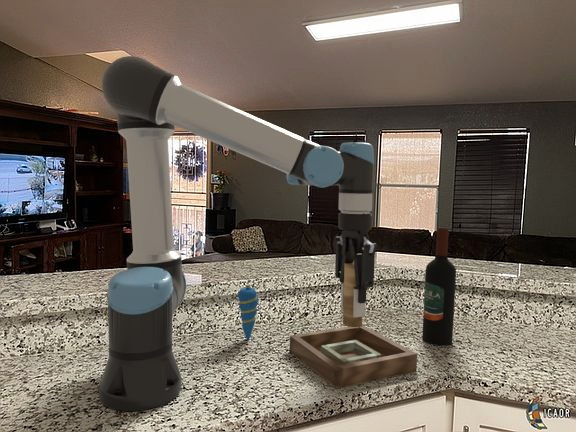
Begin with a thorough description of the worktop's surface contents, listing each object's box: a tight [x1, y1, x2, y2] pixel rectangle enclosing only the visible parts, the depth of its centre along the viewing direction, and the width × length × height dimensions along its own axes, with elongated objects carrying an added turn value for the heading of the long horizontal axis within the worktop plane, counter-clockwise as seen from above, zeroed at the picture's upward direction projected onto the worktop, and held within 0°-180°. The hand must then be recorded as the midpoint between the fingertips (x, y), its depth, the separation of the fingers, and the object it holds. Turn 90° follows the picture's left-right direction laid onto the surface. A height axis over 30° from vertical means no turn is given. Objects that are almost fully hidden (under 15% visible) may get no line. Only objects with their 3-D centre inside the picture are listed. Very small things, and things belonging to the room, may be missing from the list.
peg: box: [342, 262, 363, 327], centre depth 102 cm, size 4×4×14 cm
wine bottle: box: [421, 226, 457, 347], centre depth 117 cm, size 8×8×30 cm
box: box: [289, 324, 418, 390], centre depth 104 cm, size 21×21×4 cm
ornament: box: [237, 284, 259, 341], centre depth 115 cm, size 5×5×15 cm
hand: (352, 312), depth 103 cm, fingers closed on peg, 4 cm apart
